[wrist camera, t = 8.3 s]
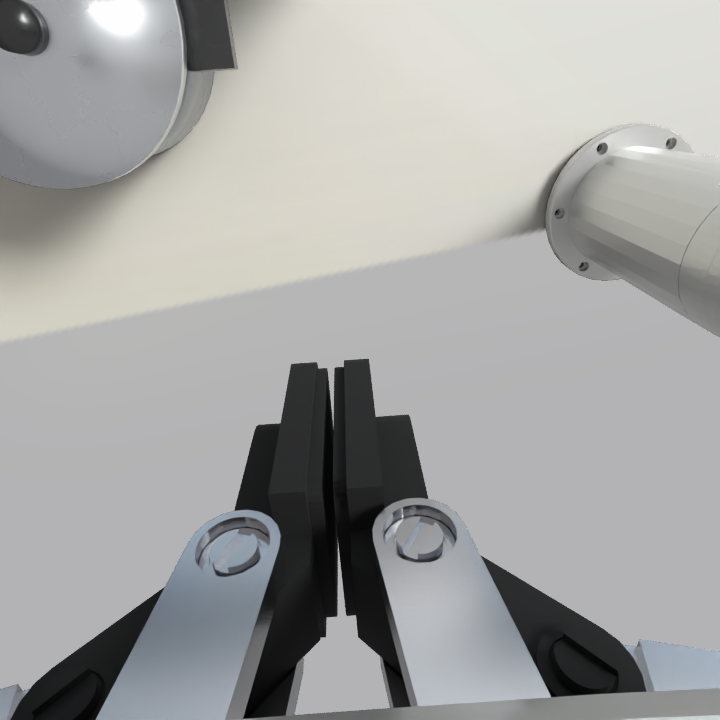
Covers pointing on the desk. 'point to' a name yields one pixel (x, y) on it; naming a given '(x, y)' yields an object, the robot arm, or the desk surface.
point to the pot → (201, 61)
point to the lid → (87, 87)
